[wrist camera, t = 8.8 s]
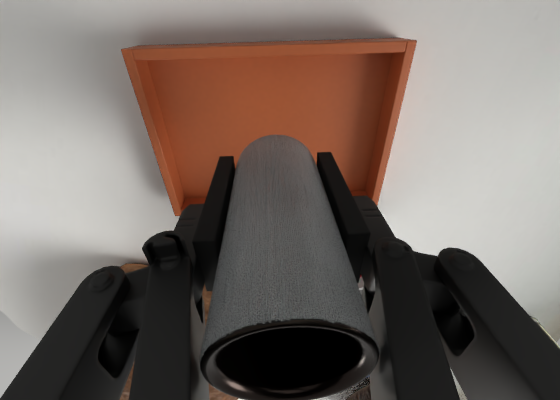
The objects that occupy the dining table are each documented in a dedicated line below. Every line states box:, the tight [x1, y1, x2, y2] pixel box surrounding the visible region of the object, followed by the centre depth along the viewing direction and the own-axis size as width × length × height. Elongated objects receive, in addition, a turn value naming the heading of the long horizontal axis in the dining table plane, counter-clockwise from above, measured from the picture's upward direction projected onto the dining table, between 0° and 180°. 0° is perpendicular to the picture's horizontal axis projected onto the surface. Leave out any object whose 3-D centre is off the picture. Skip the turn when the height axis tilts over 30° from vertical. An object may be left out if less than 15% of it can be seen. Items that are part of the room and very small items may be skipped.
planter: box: [199, 135, 380, 400], centre depth 11 cm, size 4×4×10 cm
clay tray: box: [121, 38, 417, 216], centre depth 20 cm, size 17×12×2 cm
